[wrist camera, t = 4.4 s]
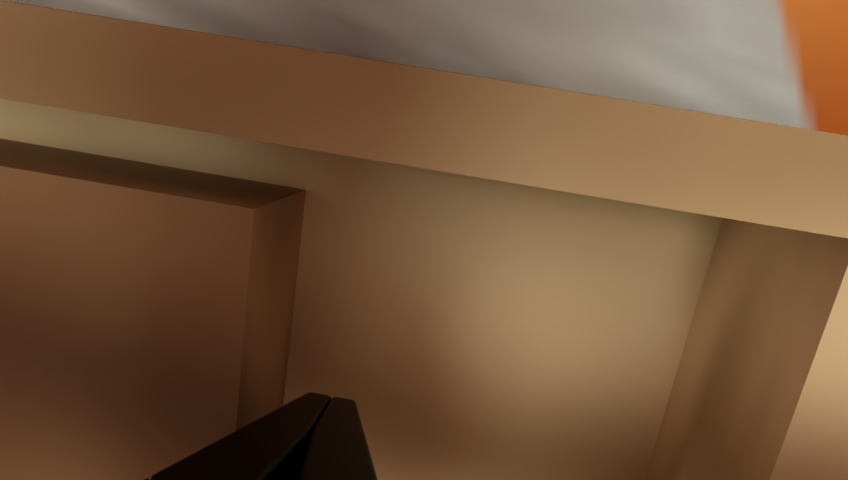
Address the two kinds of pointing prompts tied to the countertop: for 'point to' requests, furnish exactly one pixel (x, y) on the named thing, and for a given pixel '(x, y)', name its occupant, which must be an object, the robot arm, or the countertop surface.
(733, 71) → the countertop surface
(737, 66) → the countertop surface
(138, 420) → the cover plate
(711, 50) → the countertop surface
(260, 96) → the open box
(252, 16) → the countertop surface
